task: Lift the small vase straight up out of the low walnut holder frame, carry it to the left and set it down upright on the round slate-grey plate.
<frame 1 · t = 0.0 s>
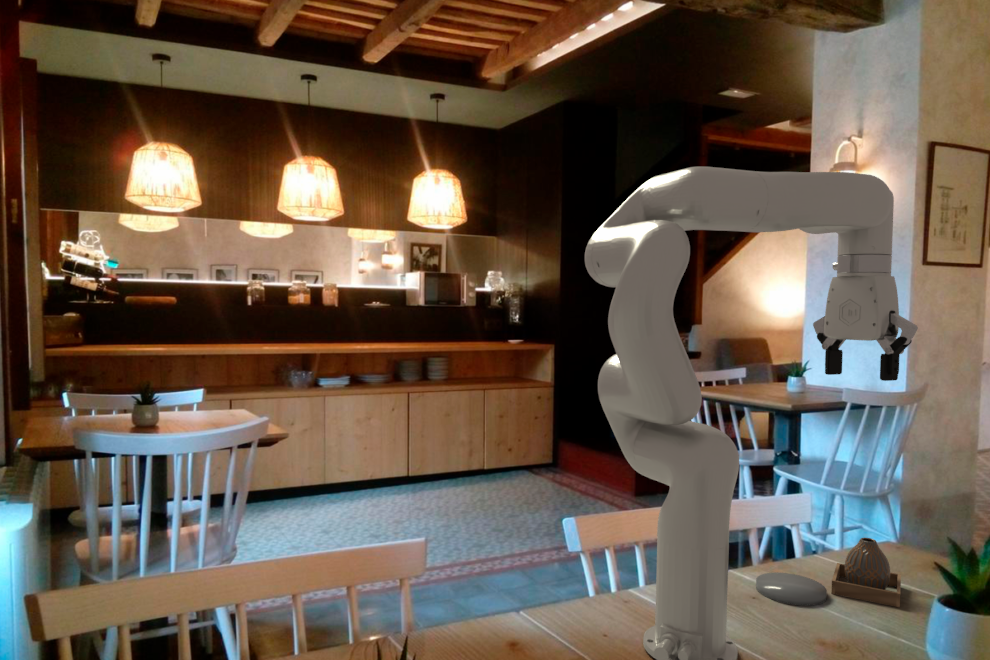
hand: (860, 377, 110), 37 cm above the table, tool pointing down, fingers open, 9 cm apart
vase: (866, 591, 120), resting in holder
holder: (866, 590, 120), on the table
plate: (790, 591, 119), on the table
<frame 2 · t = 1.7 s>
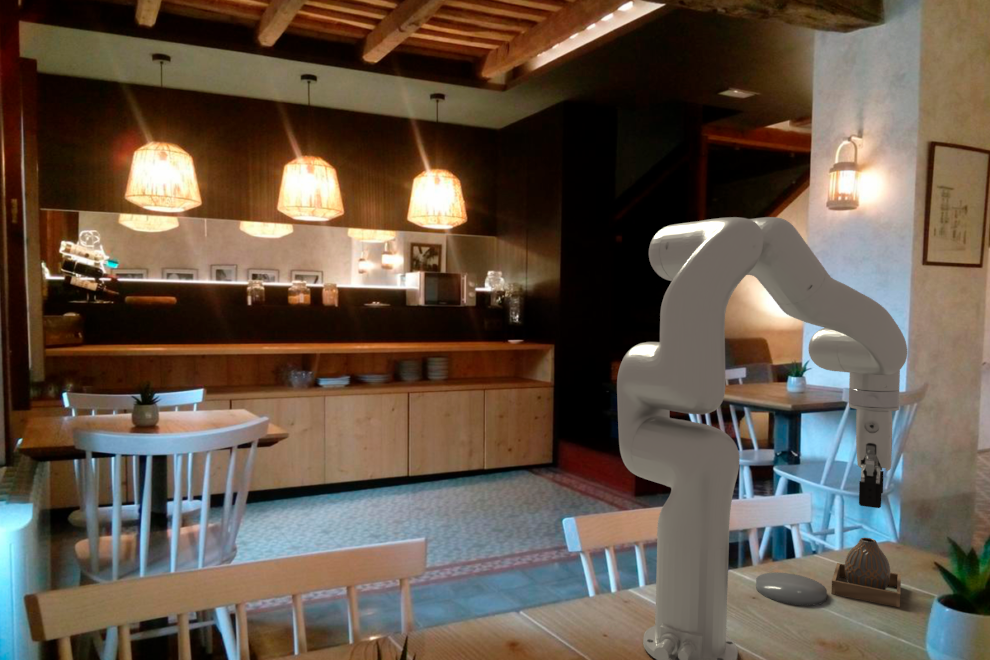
hand: (871, 499, 120), 16 cm above the table, tool pointing down, fingers open, 9 cm apart
nothing on the table moved.
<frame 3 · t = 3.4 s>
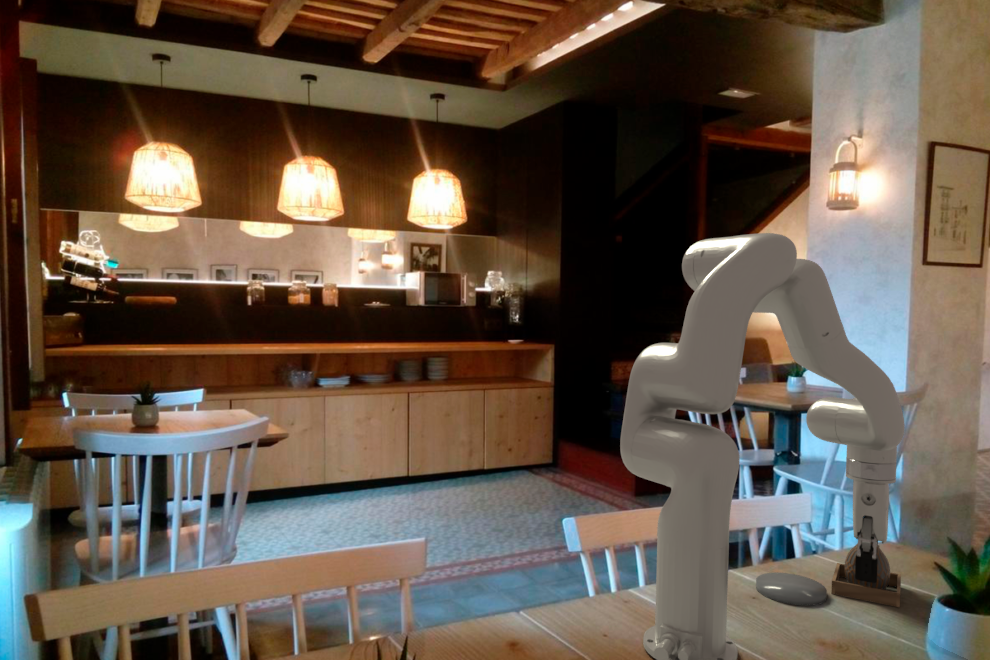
hand: (867, 572, 120), 3 cm above the table, tool pointing down, fingers closed on vase, 6 cm apart
vase: (866, 591, 120), resting in holder, touching gripper
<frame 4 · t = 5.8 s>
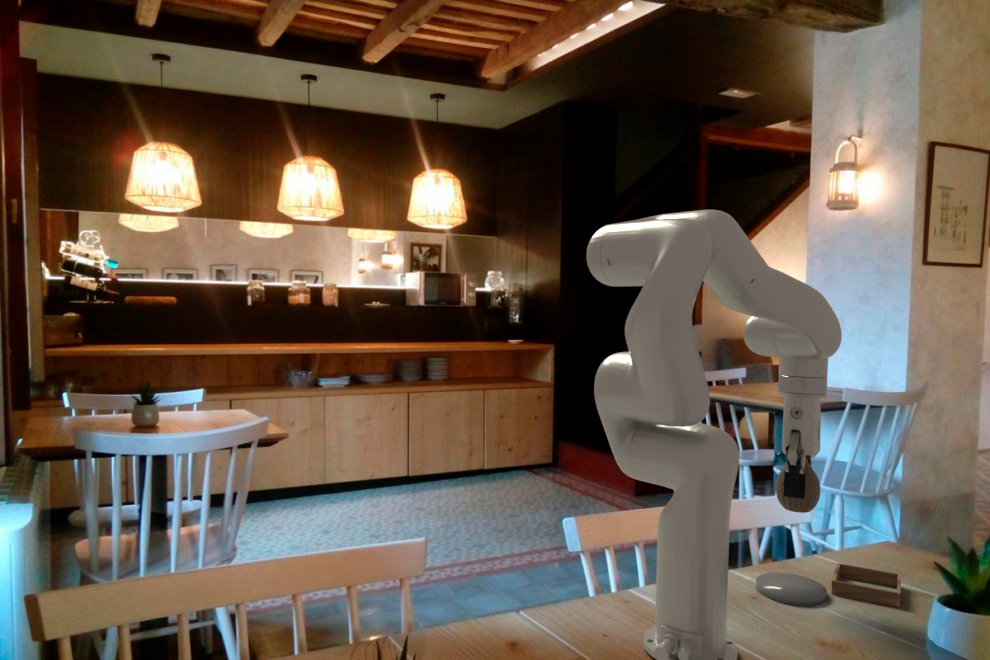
hand: (797, 491, 118), 17 cm above the table, tool pointing down, fingers closed on vase, 6 cm apart
vase: (796, 510, 118), point 14 cm above the table, touching gripper
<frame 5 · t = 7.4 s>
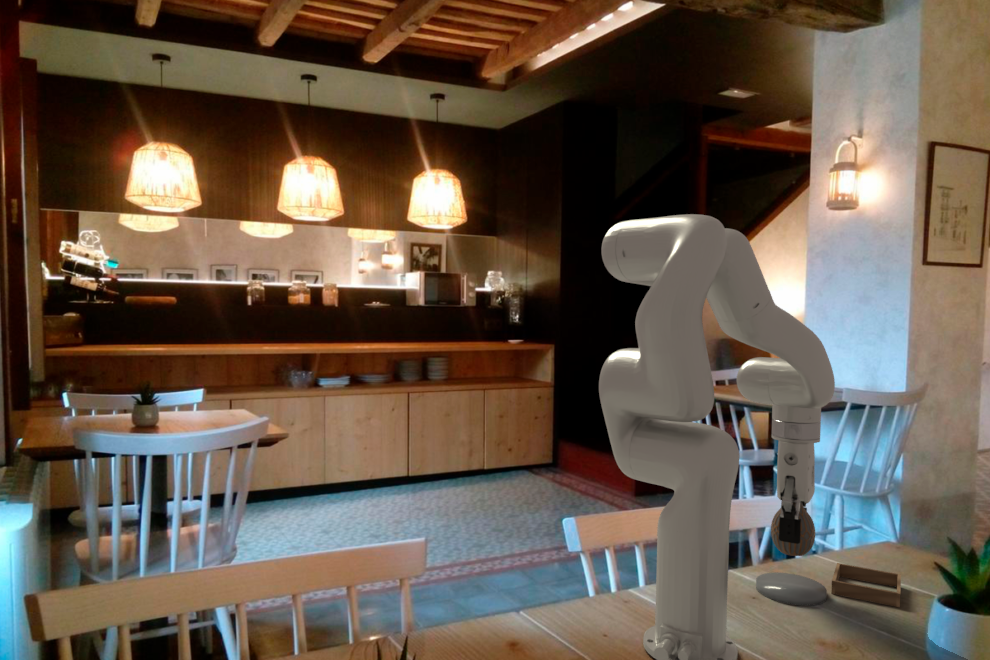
hand: (792, 534, 119), 10 cm above the table, tool pointing down, fingers closed on vase, 6 cm apart
vase: (792, 553, 119), point 7 cm above the table, touching gripper
when the fingers open (5 cm above the table, at t = 8.7 s): vase drops 1 cm, resting on plate.
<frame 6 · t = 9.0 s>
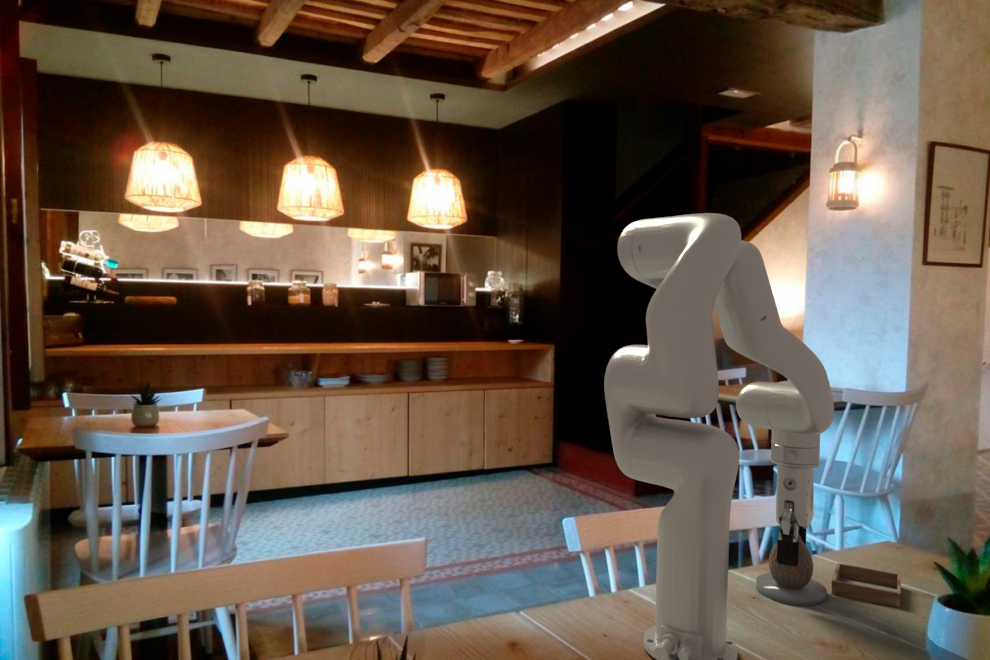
hand: (791, 555, 119), 6 cm above the table, tool pointing down, fingers open, 9 cm apart
vase: (790, 586, 119), point 1 cm above the table, touching plate
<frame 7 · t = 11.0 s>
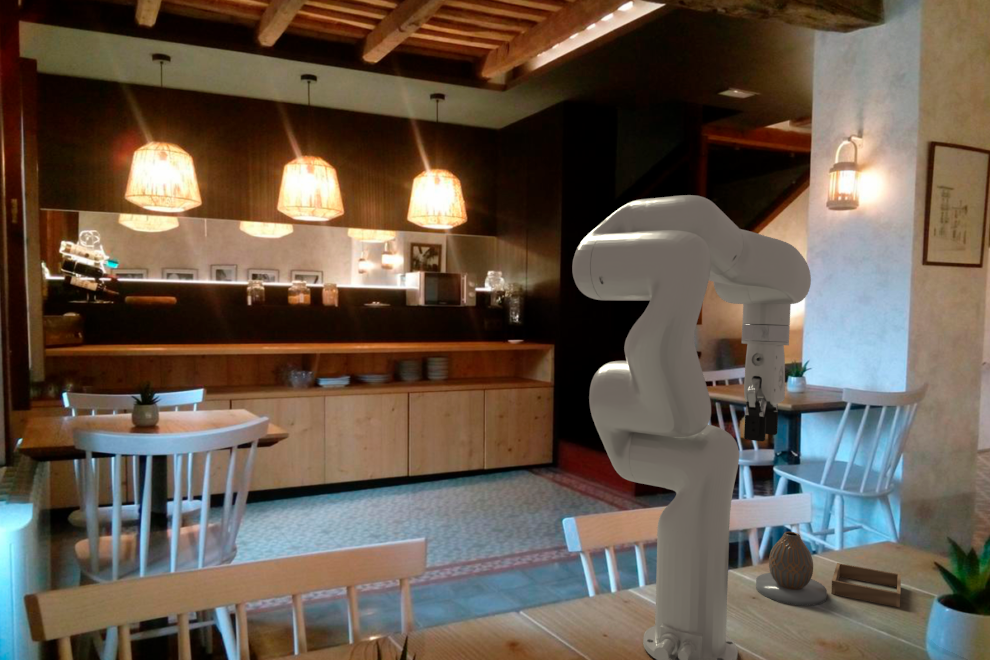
hand: (761, 437, 119), 26 cm above the table, tool pointing down, fingers open, 9 cm apart
nothing on the table moved.
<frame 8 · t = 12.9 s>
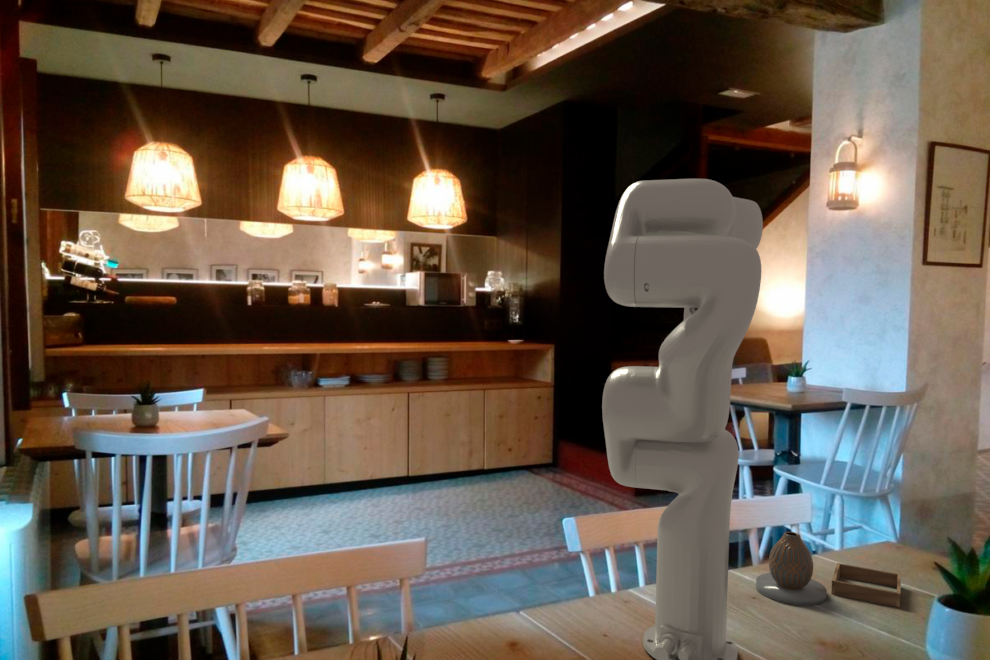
hand: (700, 385, 122), 34 cm above the table, tool pointing down, fingers open, 9 cm apart
nothing on the table moved.
at the end: vase inside the target area on the plate (0.2 cm from its centre), point 1.0 cm above the plate's base; vase tilted 0°; the gripper is holding nothing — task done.
